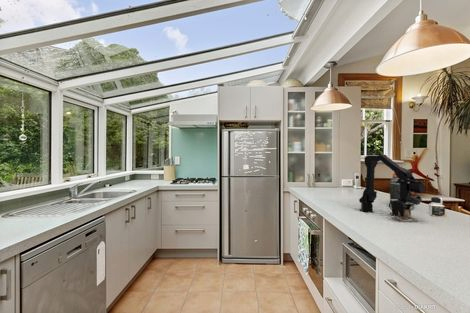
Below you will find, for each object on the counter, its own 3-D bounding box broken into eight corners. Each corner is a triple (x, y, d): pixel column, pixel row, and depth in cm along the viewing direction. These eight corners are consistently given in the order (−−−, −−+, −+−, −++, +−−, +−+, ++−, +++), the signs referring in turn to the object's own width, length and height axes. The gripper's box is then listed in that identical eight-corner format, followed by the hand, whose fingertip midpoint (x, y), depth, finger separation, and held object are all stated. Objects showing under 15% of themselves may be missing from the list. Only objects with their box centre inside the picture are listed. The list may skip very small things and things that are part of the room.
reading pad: (401, 222, 160) (401, 220, 160) (391, 217, 170) (391, 216, 170) (418, 222, 160) (418, 221, 160) (407, 218, 170) (407, 216, 170)
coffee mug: (401, 213, 181) (401, 199, 181) (408, 216, 173) (408, 201, 173) (383, 213, 183) (383, 198, 182) (389, 216, 174) (389, 201, 174)
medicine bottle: (431, 216, 175) (432, 197, 175) (428, 213, 182) (428, 196, 182) (445, 217, 172) (445, 198, 172) (441, 214, 179) (441, 196, 179)
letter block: (407, 219, 161) (407, 210, 161) (398, 217, 165) (398, 209, 165) (411, 218, 164) (411, 209, 164) (402, 216, 168) (402, 208, 168)
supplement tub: (415, 211, 189) (415, 174, 189) (389, 208, 198) (389, 173, 197) (413, 207, 203) (414, 173, 203) (390, 205, 211) (390, 172, 211)
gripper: (411, 193, 153) (411, 220, 153) (426, 191, 163) (426, 216, 163) (391, 191, 162) (391, 216, 162) (406, 189, 172) (406, 213, 172)
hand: (404, 216), depth 165 cm, fingers closed on letter block, 5 cm apart
